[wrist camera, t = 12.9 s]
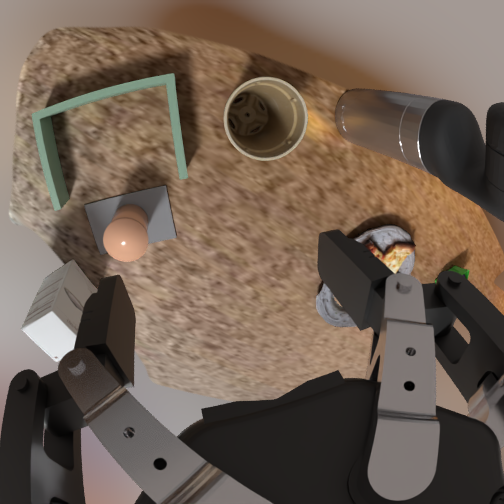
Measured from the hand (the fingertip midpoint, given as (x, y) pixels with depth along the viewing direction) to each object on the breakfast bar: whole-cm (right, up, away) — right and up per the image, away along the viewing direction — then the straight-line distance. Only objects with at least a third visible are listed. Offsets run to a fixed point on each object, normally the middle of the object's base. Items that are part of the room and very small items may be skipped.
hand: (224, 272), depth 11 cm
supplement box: (-28, -4, +29) cm, 41 cm away
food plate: (+25, -4, +47) cm, 53 cm away
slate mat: (-16, +5, +27) cm, 32 cm away
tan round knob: (-16, +5, +27) cm, 32 cm away
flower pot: (0, +19, +25) cm, 31 cm away
